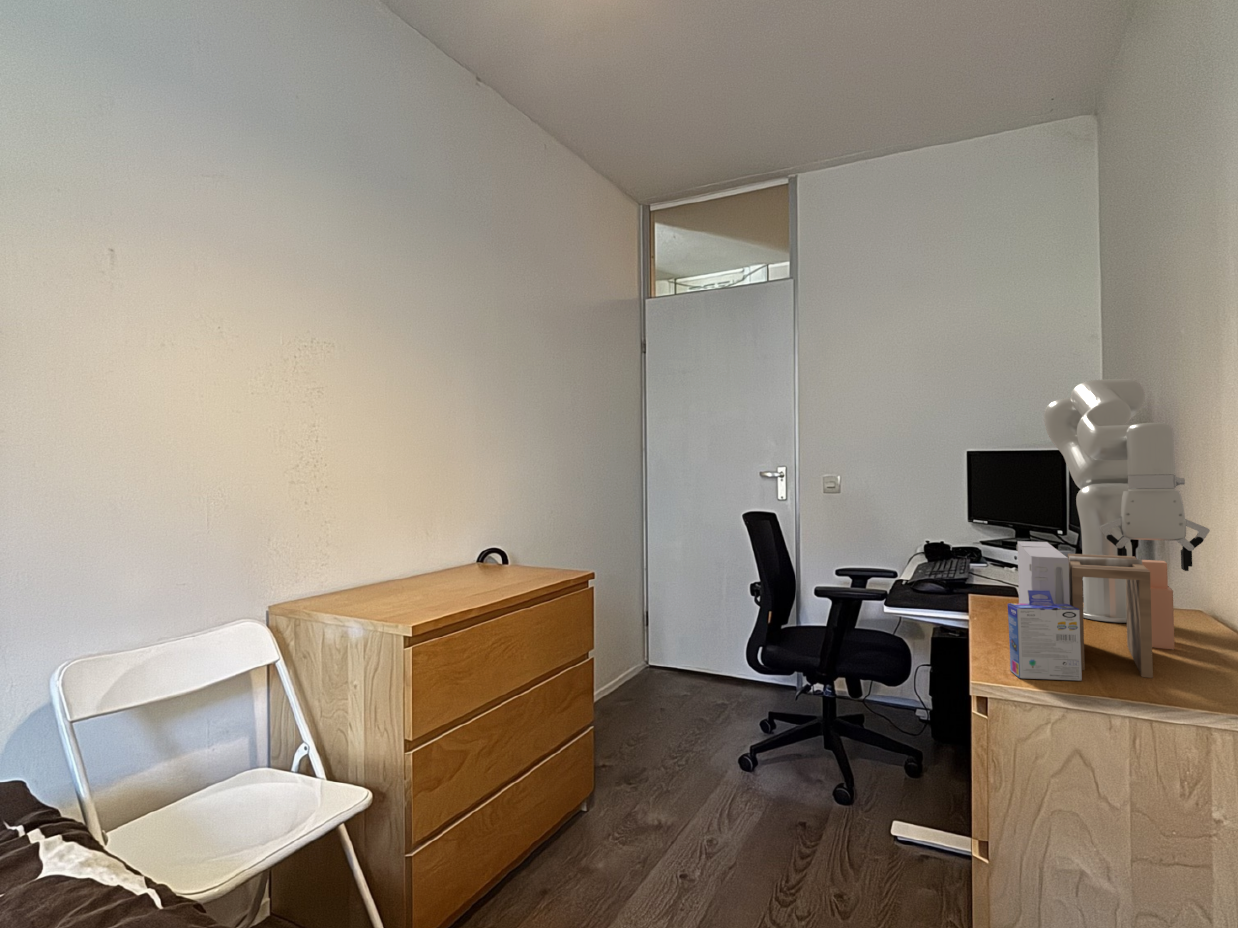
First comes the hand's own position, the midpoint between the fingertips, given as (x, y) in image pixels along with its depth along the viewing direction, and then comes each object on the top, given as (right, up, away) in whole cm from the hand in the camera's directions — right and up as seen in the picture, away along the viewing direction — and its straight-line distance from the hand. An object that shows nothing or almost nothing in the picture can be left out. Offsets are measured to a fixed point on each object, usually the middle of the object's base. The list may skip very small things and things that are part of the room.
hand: (1154, 568), depth 135 cm
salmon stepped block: (0, -15, 0) cm, 15 cm away
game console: (-24, -16, -3) cm, 29 cm away
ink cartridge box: (-34, -16, -19) cm, 42 cm away
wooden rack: (-16, -15, -9) cm, 24 cm away
